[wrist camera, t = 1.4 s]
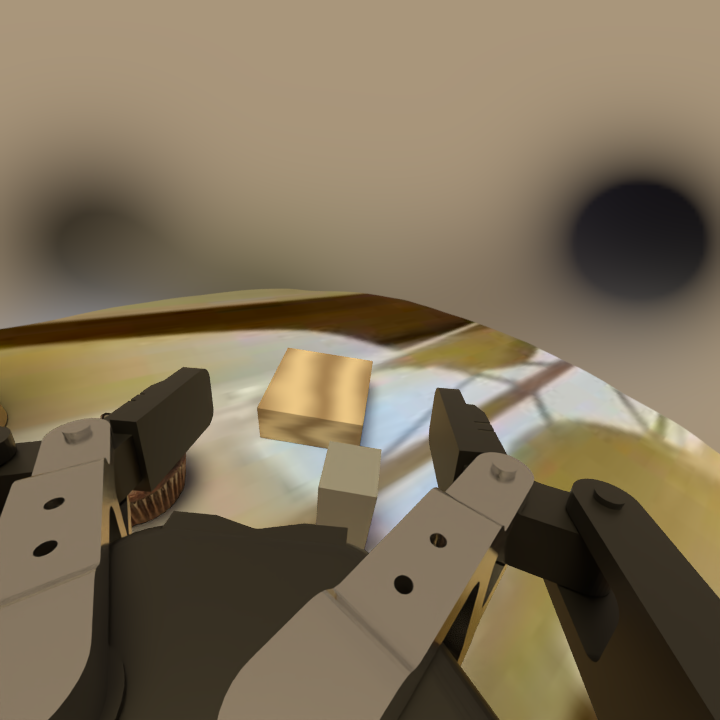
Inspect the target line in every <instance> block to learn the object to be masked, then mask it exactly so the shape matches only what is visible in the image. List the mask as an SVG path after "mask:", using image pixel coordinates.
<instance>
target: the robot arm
mask: <svg viewBox="0 0 720 720" xmlns="http://www.w3.org/2000/svg"><path fill="white" fill-rule="evenodd" d="M212 417H213V401H212V393H211V384H210V376H209V373H208V371H207V370H206V369H199V368H187V367H183V368H181V369H180V370H178V371H177V372H175V373H174V374H172V375H171V376H170V377H168V378H167V379H165V380H164V381H161V382H159V383H156V384H154V385H151V386H150V387H148V388H147V389H145V390H144V391H143V392H141V393H140V395H137V396H135V397H134V398H132V399H131V401H128V402H127V403H125V404H124V405H122V406H121V407H120V408H118V409H117V410H115V411H114V412H112V413H111V414H109V415H108V416H107V417H105V418H104V419H99V418H89V419H82V420H77V421H73V422H70V423H67V424H64V425H61V426H59V427H57V428H55V429H53V430H52V431H50V432H49V433H48V434H46V435H45V436H44V438H43V440H42V441H35V442H25V443H15V441H14V439H13V436H12V434H11V431H10V429H8V428H7V427H4V426H5V424H6V422H7V413H6V411H5V410H4V409H3V407H2V406H1V405H0V720H499V718H498V717H497V716H496V714H495V713H494V712H493V710H492V709H491V707H490V706H489V705H488V703H487V702H486V701H485V699H484V698H483V697H482V695H481V694H480V692H479V691H478V690H477V688H476V687H475V686H474V684H473V683H472V682H471V680H470V679H469V677H468V676H467V675H466V673H465V672H464V671H463V669H462V668H461V664H462V662H463V660H464V658H465V655H466V653H467V651H468V649H469V646H470V644H471V641H472V639H473V636H474V633H475V631H476V628H477V626H478V624H479V621H480V619H481V617H482V615H483V613H484V611H485V609H486V607H487V605H488V603H489V602H490V600H491V598H492V596H493V594H494V592H495V590H496V588H497V586H498V584H499V582H500V580H501V578H502V576H503V574H504V572H505V570H506V568H507V566H508V565H509V566H512V567H515V568H517V569H520V570H522V571H525V572H528V573H530V574H533V575H536V576H538V577H541V578H543V579H544V582H545V585H546V587H547V590H548V592H549V595H550V598H551V600H552V603H553V605H554V608H555V610H556V613H557V616H558V618H559V621H560V623H561V626H562V628H563V631H564V634H565V636H566V639H567V641H568V644H569V646H570V649H571V652H572V654H573V657H574V659H575V662H576V664H577V667H578V670H579V672H580V675H581V677H582V680H583V682H584V685H585V688H586V690H587V693H588V695H589V698H590V700H591V703H592V706H593V708H594V711H595V713H596V716H597V718H598V720H720V599H719V597H718V596H717V595H716V594H715V593H714V591H713V590H712V589H711V588H710V587H709V586H708V584H707V583H706V582H705V581H704V580H703V578H702V577H701V576H700V575H699V574H698V572H697V571H696V570H695V569H694V568H693V566H692V565H691V564H690V563H689V562H688V561H687V559H686V558H685V557H684V556H683V555H682V553H681V552H680V551H679V550H678V549H677V547H676V546H675V545H674V544H673V543H672V542H671V540H670V539H669V538H668V537H667V536H666V534H665V533H664V532H663V531H662V530H661V528H660V527H659V526H658V525H657V524H656V522H655V521H654V520H653V519H652V518H651V517H650V515H649V514H648V513H647V512H646V511H645V509H644V508H643V507H642V506H641V505H640V504H639V503H638V501H637V500H635V499H634V498H633V497H632V496H631V495H629V494H628V493H626V492H625V491H623V490H621V489H619V488H618V487H616V486H613V485H611V484H609V483H606V482H603V481H599V480H594V479H580V480H578V481H576V482H575V483H574V484H573V486H572V489H571V491H570V492H567V491H563V490H560V489H557V488H553V487H550V486H547V485H544V484H541V483H538V482H536V481H534V476H533V474H532V472H531V470H530V469H529V468H528V467H527V466H526V465H525V464H524V463H522V462H521V461H519V460H518V459H516V458H513V457H511V456H509V455H507V454H506V452H505V450H504V448H503V446H502V444H501V442H500V441H499V439H498V437H497V435H496V433H495V432H494V429H493V428H492V426H491V424H490V422H489V420H488V418H487V416H486V415H485V413H484V412H483V411H481V410H480V409H479V408H478V407H476V406H475V405H471V404H466V403H465V401H464V399H463V396H462V394H461V392H460V390H459V389H446V388H437V389H436V391H435V396H434V402H433V409H432V415H431V422H430V428H429V445H430V450H431V455H432V459H433V464H434V469H435V474H436V479H437V483H438V488H437V487H435V488H433V489H432V490H430V491H429V492H428V493H427V494H426V495H425V496H424V498H423V499H422V500H421V501H420V502H419V503H418V504H417V505H416V506H415V507H414V508H413V509H412V510H411V511H410V512H409V513H408V514H407V515H406V516H405V517H404V518H403V519H402V520H401V521H400V522H399V523H398V524H397V525H396V526H395V527H394V528H393V529H392V530H391V532H390V533H389V534H388V535H387V536H386V537H385V538H384V539H383V540H382V541H381V542H380V543H379V544H378V545H377V546H376V547H375V548H374V549H373V550H372V551H371V552H370V553H368V552H367V551H365V550H363V549H361V548H359V547H357V546H355V545H353V544H350V543H347V535H348V528H346V527H335V526H325V525H314V524H297V525H288V526H280V527H271V528H263V529H254V528H251V527H248V526H245V525H242V524H240V523H237V522H234V521H231V520H228V519H226V518H223V517H220V516H217V515H209V514H199V513H188V512H178V511H174V512H173V513H172V515H171V516H170V518H169V519H168V520H167V522H166V523H165V524H164V526H158V527H153V528H148V529H145V530H141V531H138V532H135V533H132V528H131V511H130V502H129V498H128V494H129V493H130V492H131V491H132V490H135V491H145V492H152V491H153V490H154V489H155V488H156V486H157V485H158V484H159V483H160V482H161V481H162V479H163V478H164V477H165V476H166V475H167V474H168V472H169V471H170V470H171V469H172V468H173V467H174V466H175V464H176V463H177V462H178V461H179V460H180V459H181V457H182V456H183V455H184V454H185V453H186V452H187V451H188V449H189V448H190V447H191V446H192V445H193V444H194V442H195V441H196V440H197V439H198V438H199V437H200V436H201V434H202V433H203V432H204V431H205V430H206V429H207V427H208V426H209V425H210V423H211V421H212Z"/></svg>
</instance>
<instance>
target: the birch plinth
mask: <svg viewBox="0 0 720 720" xmlns="http://www.w3.org/2000/svg"><path fill="white" fill-rule="evenodd" d="M372 363H373V361H368V360H362V359H355V358H349V357H343V356H337V355H330V354H324V353H318V352H311V351H305V350H299V349H293V348H288V349H287V351H286V353H285V355H284V357H283V359H282V361H281V363H280V365H279V366H278V368H277V370H276V372H275V374H274V376H273V378H272V380H271V382H270V384H269V386H268V388H267V390H266V392H265V394H264V396H263V398H262V400H261V402H260V403H259V405H258V407H257V411H258V420H259V430H260V437H262V438H268V439H274V440H280V441H286V442H292V443H298V444H303V445H309V446H315V447H321V448H327V449H328V446H329V442H330V441H333V442H339V443H345V444H351V445H357V446H360V440H361V434H362V428H363V422H364V415H365V409H366V402H367V396H368V389H369V383H370V376H371V369H372Z"/></svg>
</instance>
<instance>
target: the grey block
mask: <svg viewBox="0 0 720 720" xmlns="http://www.w3.org/2000/svg"><path fill="white" fill-rule="evenodd" d="M380 459H381V449H375V448H369V447H363V446H357V445H351V444H345V443H339V442H333V441H330V442H329V446H328V450H327V454H326V459H325V463H324V467H323V471H322V475H321V479H320V483H319V487H318V503H317V520H316V525H325V526H335V527H346V528H348V535H347V543H350V544H353V545H355V546H357V547H359V548H361V549H363V550H364V548H365V544H366V540H367V536H368V532H369V528H370V524H371V520H372V516H373V512H374V508H375V504H376V500H377V493H378V482H379V471H380Z"/></svg>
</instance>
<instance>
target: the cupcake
mask: <svg viewBox="0 0 720 720" xmlns="http://www.w3.org/2000/svg"><path fill="white" fill-rule="evenodd" d="M109 414H111V413H104V414H102V415H101V418H100V419H104V418H105V417H107V416H108V415H109ZM185 464H186V453H185V454H184V455H183V456H182V457H181V459H180V460H179V461H178V462H177V463H176V464H175V466H174V467H173V468H172V469H171V470H170V471H169V472H168V474H167V475H166V476H165V477H164V478H163V479H162V481H161V482H160V483H159V484H158V485H157V486H156V488H155V489H154V490H153V491H152V492H145V491H135V490H132V491H131V492H130V493H129V494H128V498H129V502H130V511H131V527H132V526H134V525H136V524H140V523H144V522H147V521H150V520H153V519H154V518H156V517H158V516H159V515H160V514H162V513H164V512H166V510H168V509H169V508H171V506H172V505H173V504H174V503H175V501H176V500H177V499H178V498H179V495H180V493H181V492H182V490H183V489H184V485H185V474H186V469H185Z"/></svg>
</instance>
